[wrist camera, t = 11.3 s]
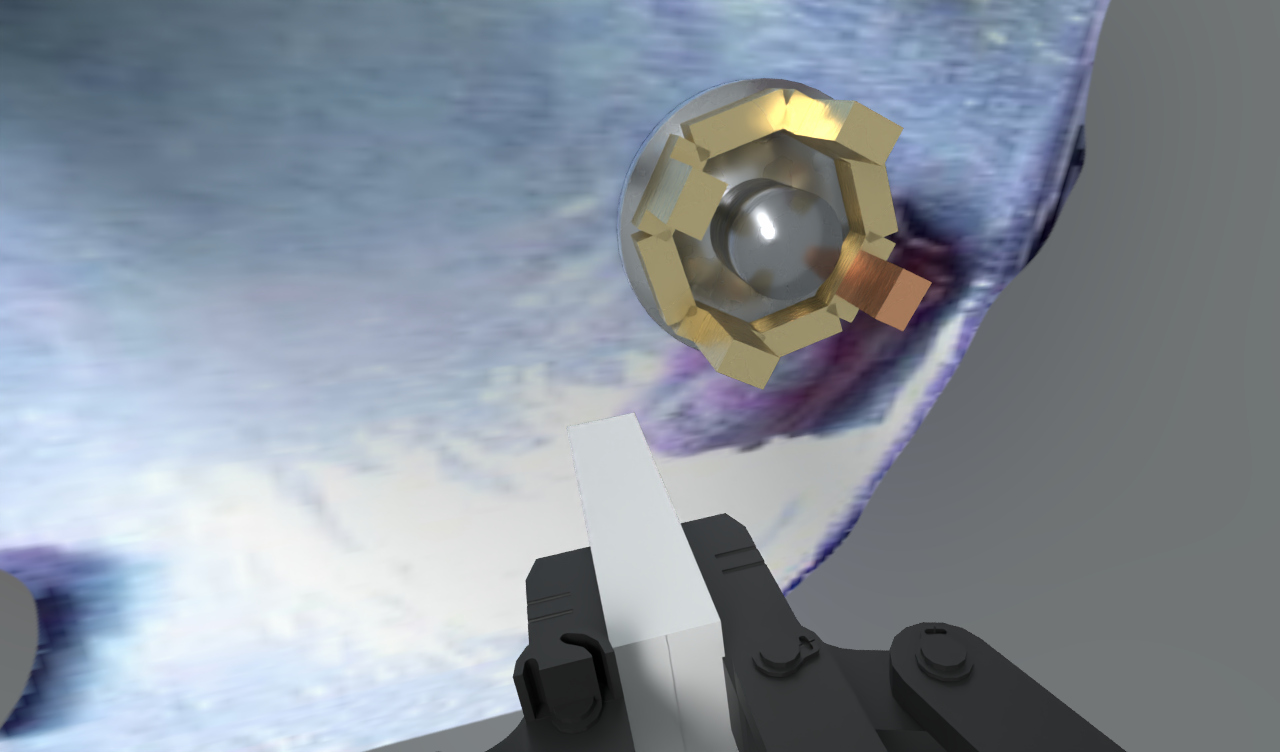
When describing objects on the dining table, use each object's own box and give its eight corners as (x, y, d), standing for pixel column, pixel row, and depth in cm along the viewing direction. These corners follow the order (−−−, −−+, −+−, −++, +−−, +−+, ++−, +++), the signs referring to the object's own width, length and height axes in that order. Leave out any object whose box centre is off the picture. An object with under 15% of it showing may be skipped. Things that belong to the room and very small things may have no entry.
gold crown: (598, 295, 43) (616, 333, 36) (707, 49, 38) (750, 41, 32) (801, 376, 47) (849, 422, 41) (917, 164, 43) (992, 178, 37)
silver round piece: (595, 102, 40) (613, 106, 34) (873, 58, 42) (939, 53, 36) (637, 372, 47) (659, 416, 41) (875, 323, 49) (931, 358, 43)
